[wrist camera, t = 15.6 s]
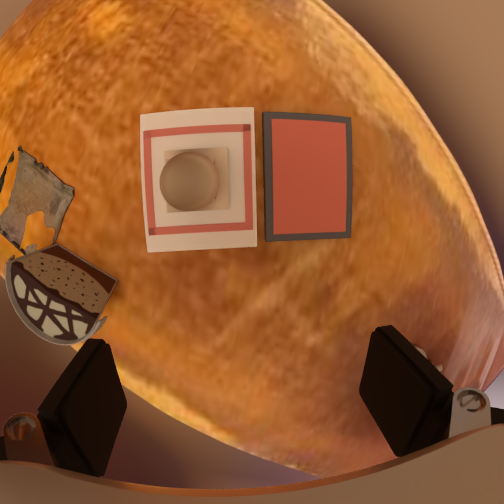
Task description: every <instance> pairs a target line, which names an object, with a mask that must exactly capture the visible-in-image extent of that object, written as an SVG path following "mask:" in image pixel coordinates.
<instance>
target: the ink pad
mask: <svg viewBox="0 0 504 504" xmlns="http://www.w3.org/2000/svg"><path fill="white" fill-rule="evenodd" d="M262 127H263V166H264V217H265V241H266V242H270V241H291V240H313V239H337V238H351V222H352V129H351V117H342V116H332V115H320V114H307V113H288V112H263V113H262Z"/></svg>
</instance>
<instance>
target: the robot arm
mask: <svg viewBox="0 0 504 504" xmlns="http://www.w3.org/2000/svg"><path fill="white" fill-rule="evenodd" d="M442 369H443V367H442V365H441V364H438V365H435V366H434V365H433V364H432V363H431V362H430V361H429V360H428V359H427V355H426V353H425V352H424V351H423V350H422V349H421V348H420V347H418V346H416V345H412V344H411V343H410V342H409V341H408V340H407V339H406V338H405V337H404V336H403V335H402V334H401V333H400V332H399V331H398V330H396V329H395V328H394V327H393V326H392V325H388V326H381V327H377V328H376V329H375V331H374V332H372V334H371V337H370V342H369V347H368V352H367V357H366V362H365V366H364V371H363V375H362V379H361V383H360V388H359V392H360V396H361V398H362V399H363V401H364V403H365V404H366V406H367V408H368V410H369V411H370V413H371V415H372V416H373V418H374V420H375V421H376V423H377V425H378V427H379V428H380V430H381V432H382V433H383V435H384V437H385V439H386V440H387V442H388V444H389V445H390V447H391V449H392V451H393V452H394V454H395V455H396V456H397V457H399V456H400V457H399V458H396V459H394V460H391V461H388V462H385V463H382V464H378V465H375V466H372V467H368V468H365V469H361V470H358V471H354V472H350V473H346V474H342V475H337V476H333V477H328V478H323V479H318V480H313V481H307V482H301V483H295V484H288V485H279V486H271V487H260V488H245V489H181V488H168V487H157V486H148V485H140V484H133V483H127V482H121V481H115V480H110V479H105V478H100V476H103V475H104V474H105V471H106V468H107V464H108V461H109V458H110V455H111V452H112V449H113V446H114V443H115V440H116V437H117V434H118V431H119V428H120V425H121V422H122V420H123V416H124V414H125V411H126V408H127V401H126V398H125V395H124V391H123V389H122V385H121V382H120V379H119V376H118V372H117V369H116V366H115V362H114V359H113V355H112V352H111V348H110V345H109V344H106V342H105V341H104V340H103V339H91V338H89V339H87V341H86V342H85V343H84V345H83V346H82V347H81V349H80V350H79V351H78V353H77V354H76V355H75V357H74V358H73V360H72V361H71V362H70V363H69V365H68V366H67V368H66V369H65V370H64V372H63V373H62V375H61V376H60V377H59V379H58V380H57V382H56V383H55V385H54V386H53V388H52V389H51V391H50V392H49V393H48V395H47V396H46V398H45V399H44V401H43V402H42V404H41V405H40V407H39V408H38V411H39V414H38V415H37V417H36V416H35V415H33V414H30V413H18V414H16V415H13V416H12V417H11V418H9V419H8V420H7V421H6V422H5V424H4V427H3V436H2V437H0V504H504V409H499V408H493V407H490V401H489V398H488V397H487V396H486V394H485V393H484V392H482V391H481V390H479V389H476V388H472V387H464V388H461V389H459V390H457V391H456V392H455V393H453V392H452V391H451V390H452V388H453V385H452V383H451V382H450V381H449V380H448V379H447V378H446V377H445V376H444V375H443V373H442V372H440V371H442Z"/></svg>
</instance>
